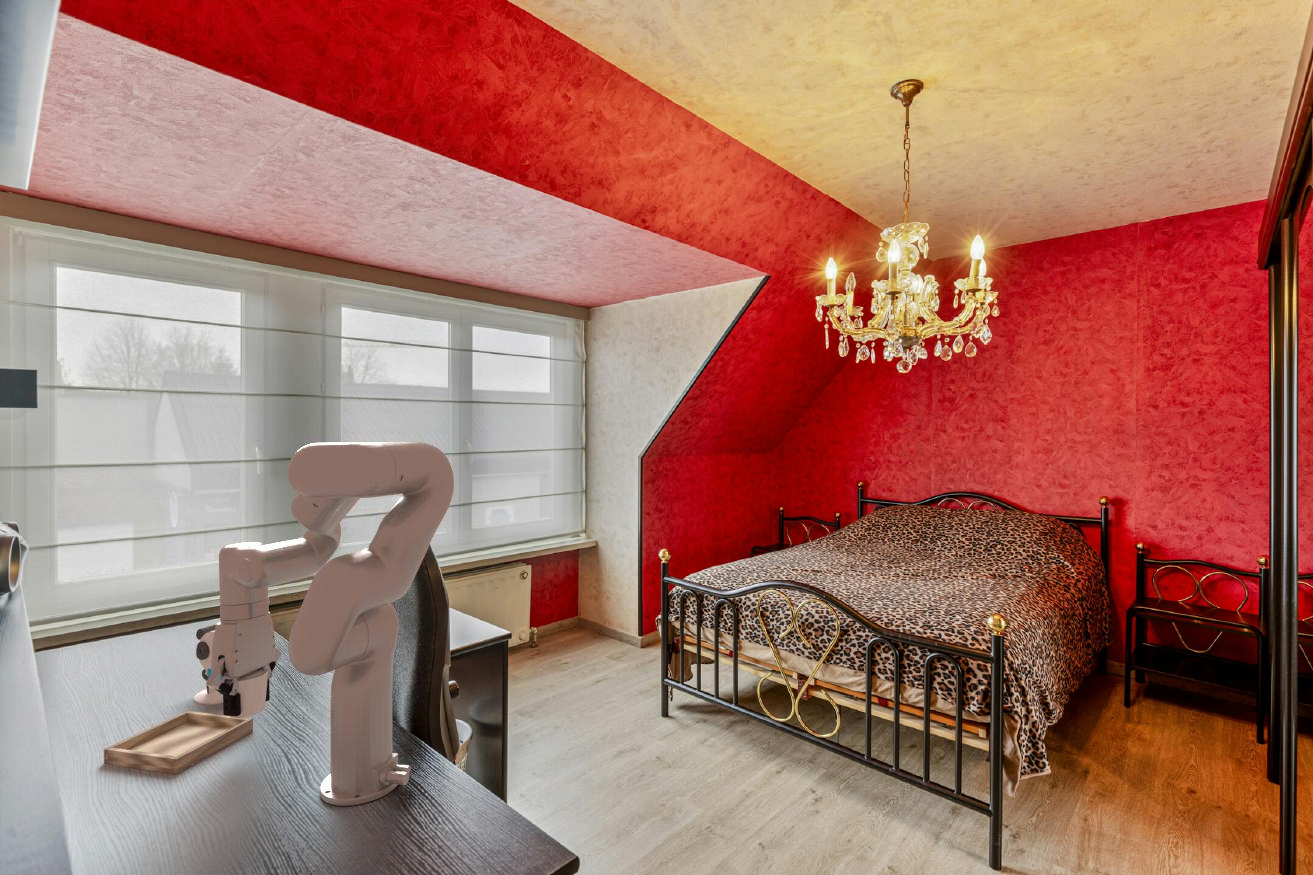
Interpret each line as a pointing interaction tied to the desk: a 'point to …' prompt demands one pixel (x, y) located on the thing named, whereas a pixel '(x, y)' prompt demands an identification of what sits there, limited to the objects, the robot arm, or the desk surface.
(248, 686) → the white cup
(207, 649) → the panda figurine
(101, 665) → the desk surface
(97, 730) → the desk surface
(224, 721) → the tray
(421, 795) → the desk surface
